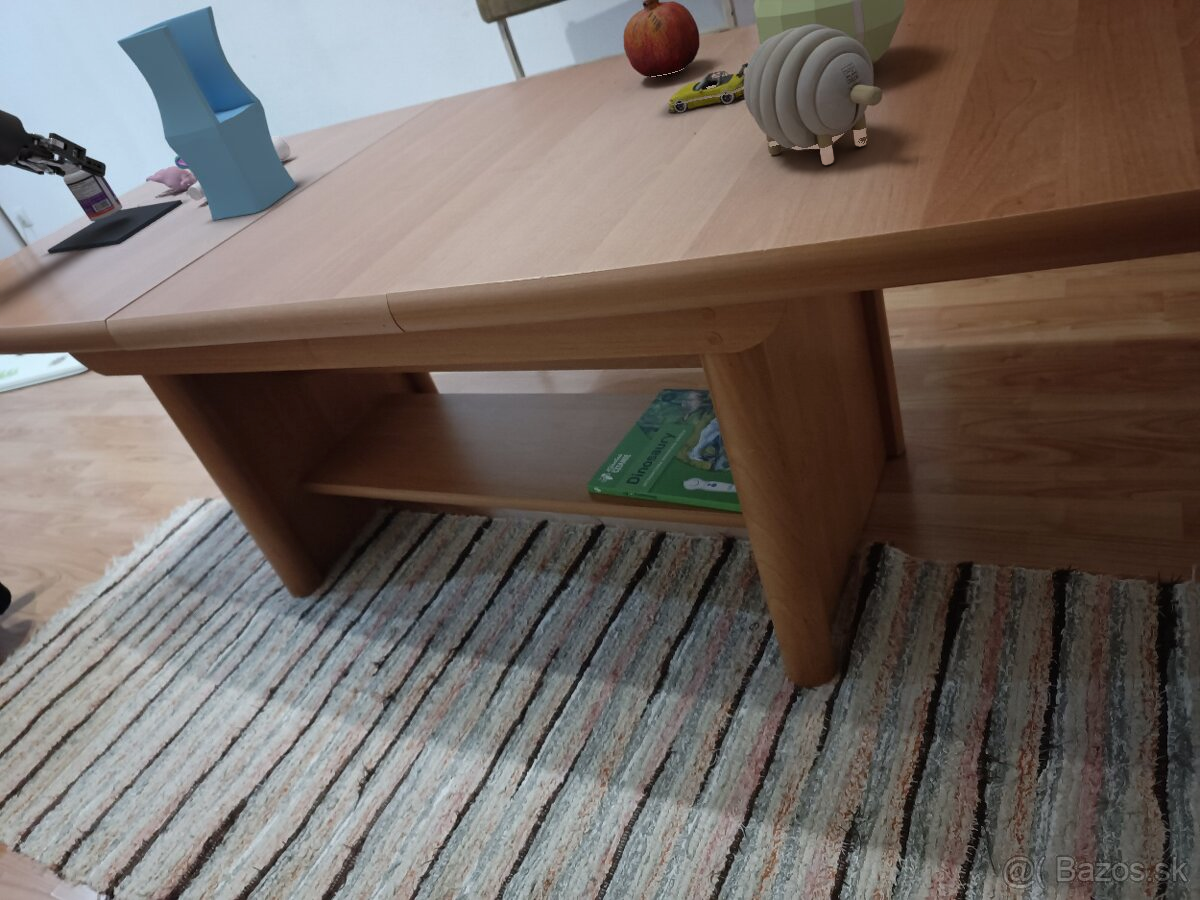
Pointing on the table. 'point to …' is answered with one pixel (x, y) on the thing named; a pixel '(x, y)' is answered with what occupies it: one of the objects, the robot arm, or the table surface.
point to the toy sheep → (809, 87)
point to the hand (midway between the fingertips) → (91, 173)
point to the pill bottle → (91, 193)
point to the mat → (115, 227)
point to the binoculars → (281, 149)
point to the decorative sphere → (834, 19)
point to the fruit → (661, 39)
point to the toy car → (709, 91)
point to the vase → (210, 114)
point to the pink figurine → (174, 176)
